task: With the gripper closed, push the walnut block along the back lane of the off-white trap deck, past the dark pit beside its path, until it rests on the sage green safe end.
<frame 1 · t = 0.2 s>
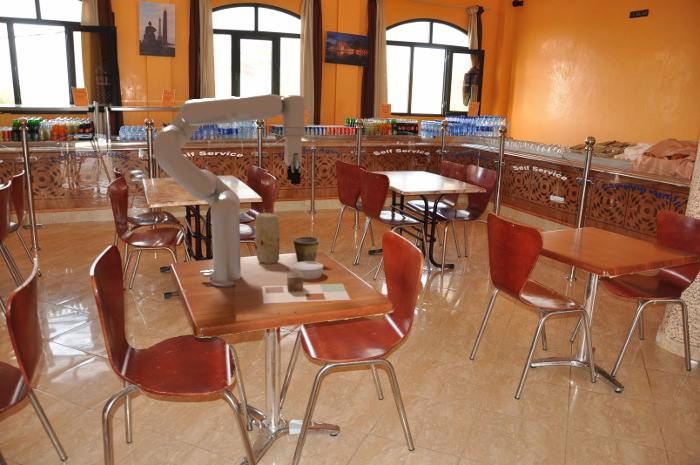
hand: (293, 181, 198), 36 cm above the table, tool pointing down, fingers open, 9 cm apart
ramekin: (307, 279, 208), on the table
trap deck: (305, 297, 190), on the table
food model: (267, 262, 227), on the table
walnut block: (295, 289, 193), point 1 cm above the table, touching trap deck
ceramic cup: (305, 263, 228), on the table
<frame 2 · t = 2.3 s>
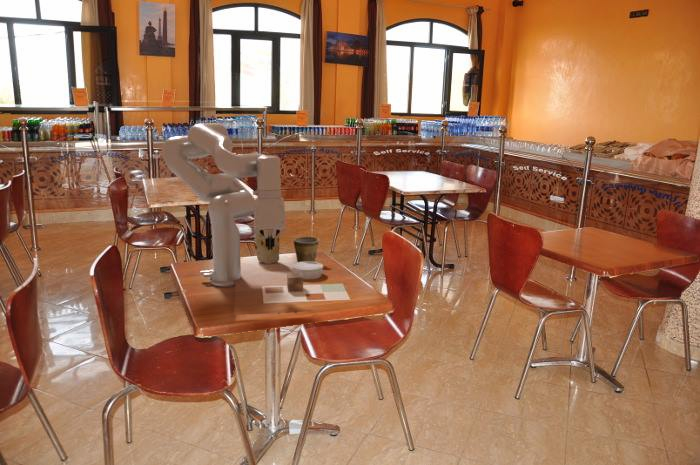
hand: (270, 248, 187), 16 cm above the table, tool pointing down, fingers closed
nothing on the table moved.
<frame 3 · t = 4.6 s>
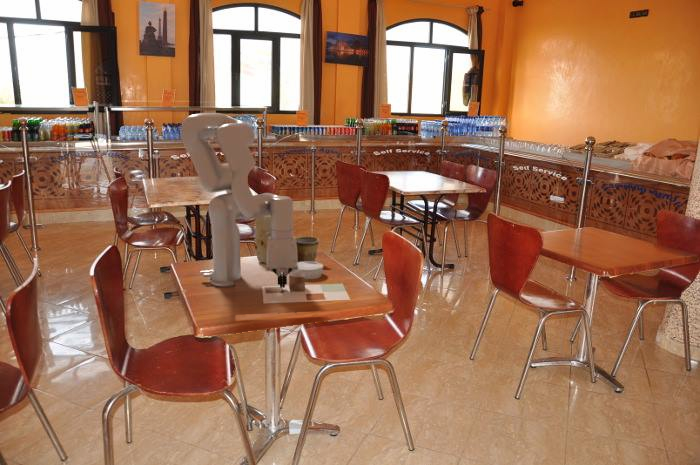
hand: (282, 286, 191), 3 cm above the table, tool pointing down, fingers closed
walnut block: (296, 289, 193), point 2 cm above the table, touching gripper
everything else where it was.
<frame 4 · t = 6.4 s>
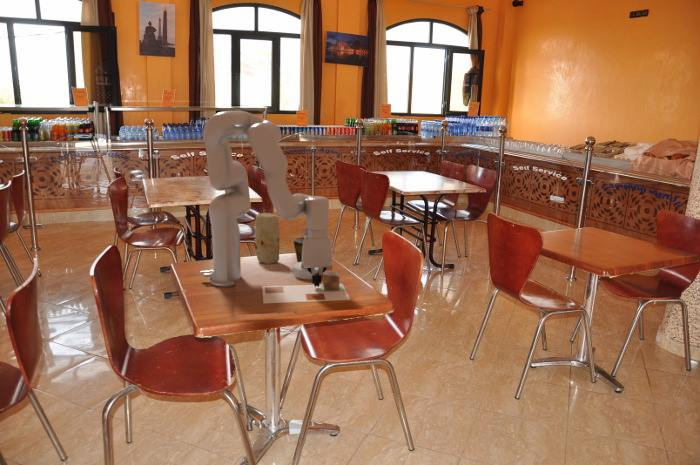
hand: (316, 285, 193), 3 cm above the table, tool pointing down, fingers closed
walnut block: (331, 288, 194), point 2 cm above the table, touching gripper
everything else where it was.
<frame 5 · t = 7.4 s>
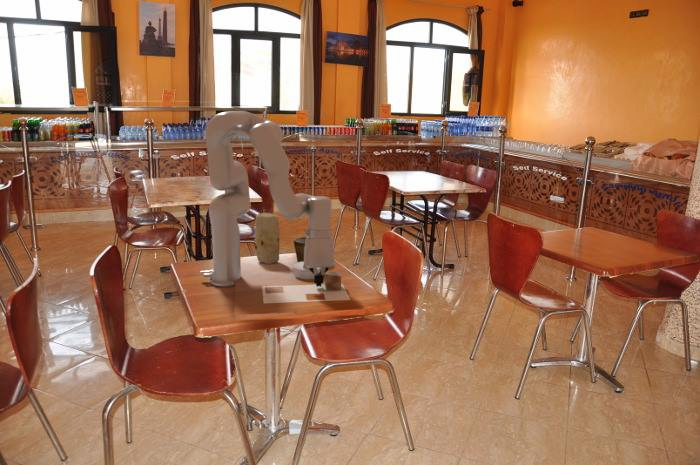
hand: (318, 285, 194), 3 cm above the table, tool pointing down, fingers closed
walnut block: (332, 288, 195), point 1 cm above the table, touching gripper, trap deck
everything else where it was.
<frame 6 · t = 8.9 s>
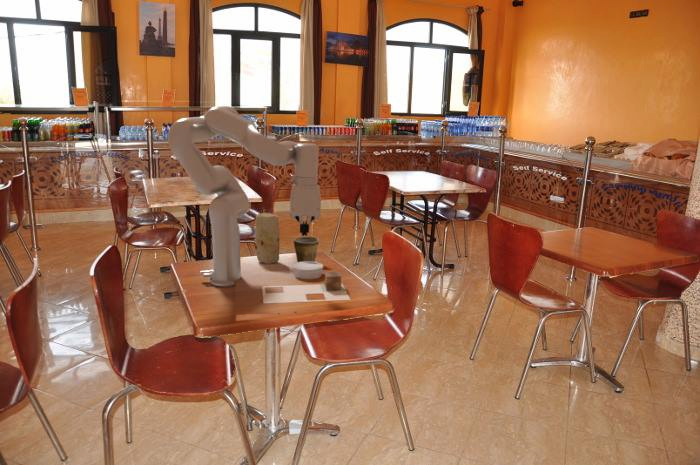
hand: (304, 234, 192), 20 cm above the table, tool pointing down, fingers closed
walnut block: (332, 288, 195), point 1 cm above the table, touching trap deck
everything else where it was.
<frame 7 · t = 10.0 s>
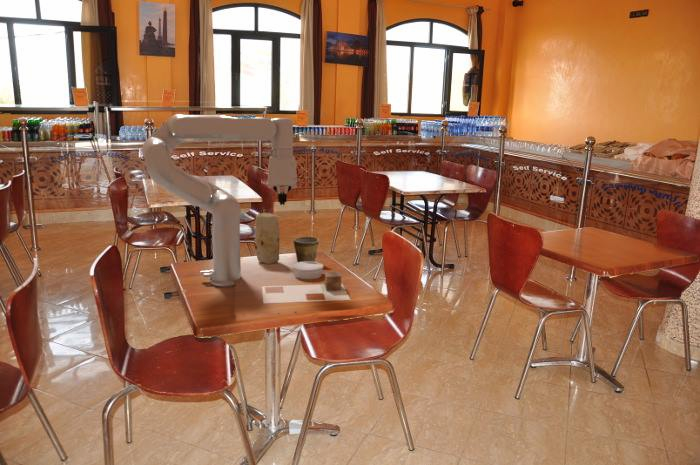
hand: (282, 204, 205), 27 cm above the table, tool pointing down, fingers closed
nothing on the table moved.
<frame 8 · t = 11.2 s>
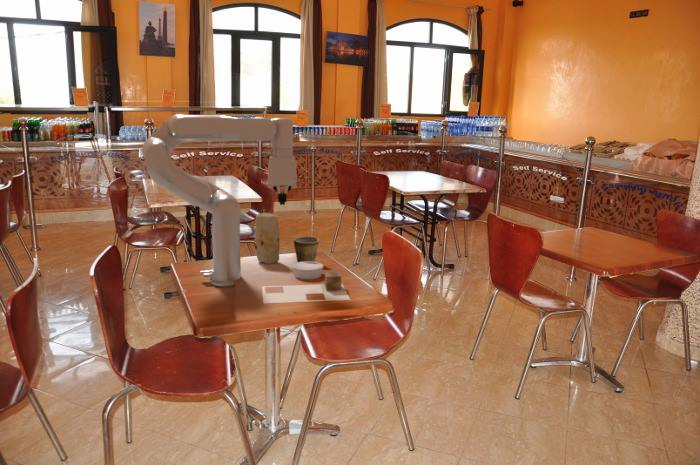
hand: (282, 204, 205), 27 cm above the table, tool pointing down, fingers closed
nothing on the table moved.
at the end: walnut block inside the target area on the trap deck (0.4 cm from its centre), point 1.5 cm above the trap deck's base; walnut block tilted 0° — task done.
